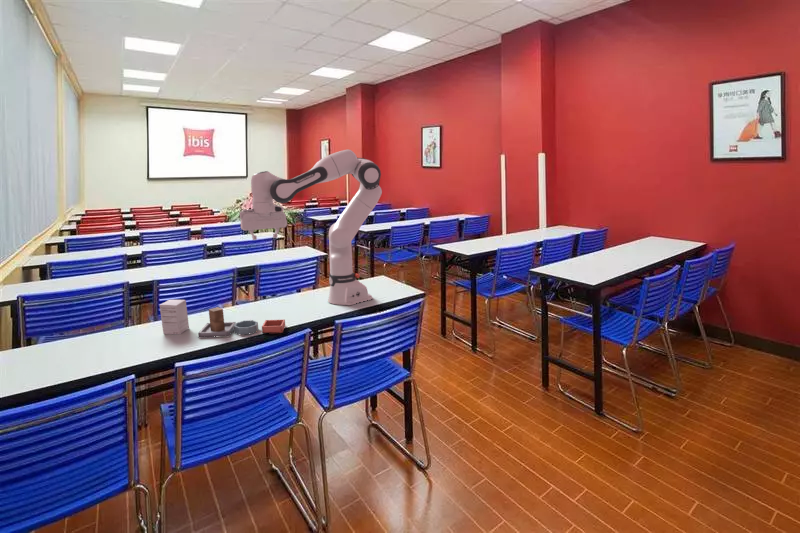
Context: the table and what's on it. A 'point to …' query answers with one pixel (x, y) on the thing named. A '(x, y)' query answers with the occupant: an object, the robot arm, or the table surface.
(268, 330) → the bin
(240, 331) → the grey octagonal bowl
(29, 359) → the table surface
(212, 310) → the walnut block
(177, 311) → the supplement box
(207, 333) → the slate tray
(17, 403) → the table surface
